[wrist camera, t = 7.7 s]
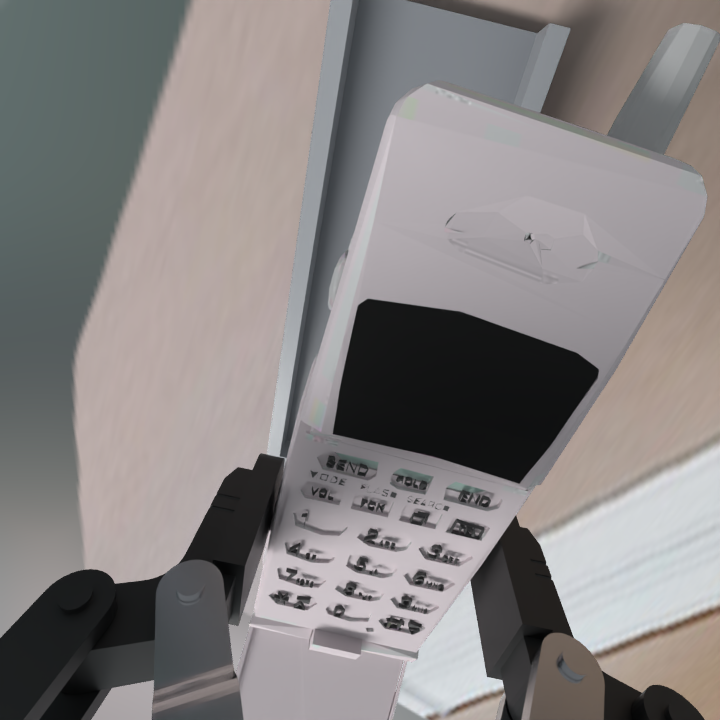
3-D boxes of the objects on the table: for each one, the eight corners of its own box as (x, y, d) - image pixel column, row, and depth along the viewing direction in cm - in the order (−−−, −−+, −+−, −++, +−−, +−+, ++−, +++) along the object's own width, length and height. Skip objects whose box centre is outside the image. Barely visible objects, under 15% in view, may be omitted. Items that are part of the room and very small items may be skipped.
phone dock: (343, -10, 21) (335, -32, 19) (550, 42, 22) (571, 28, 19) (276, 439, 35) (265, 463, 33) (401, 468, 36) (401, 494, 33)
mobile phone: (174, 861, 14) (494, -507, 2) (233, 662, 19) (418, -49, 7) (350, 892, 14) (1382, -98, 3) (360, 690, 19) (720, 61, 8)
